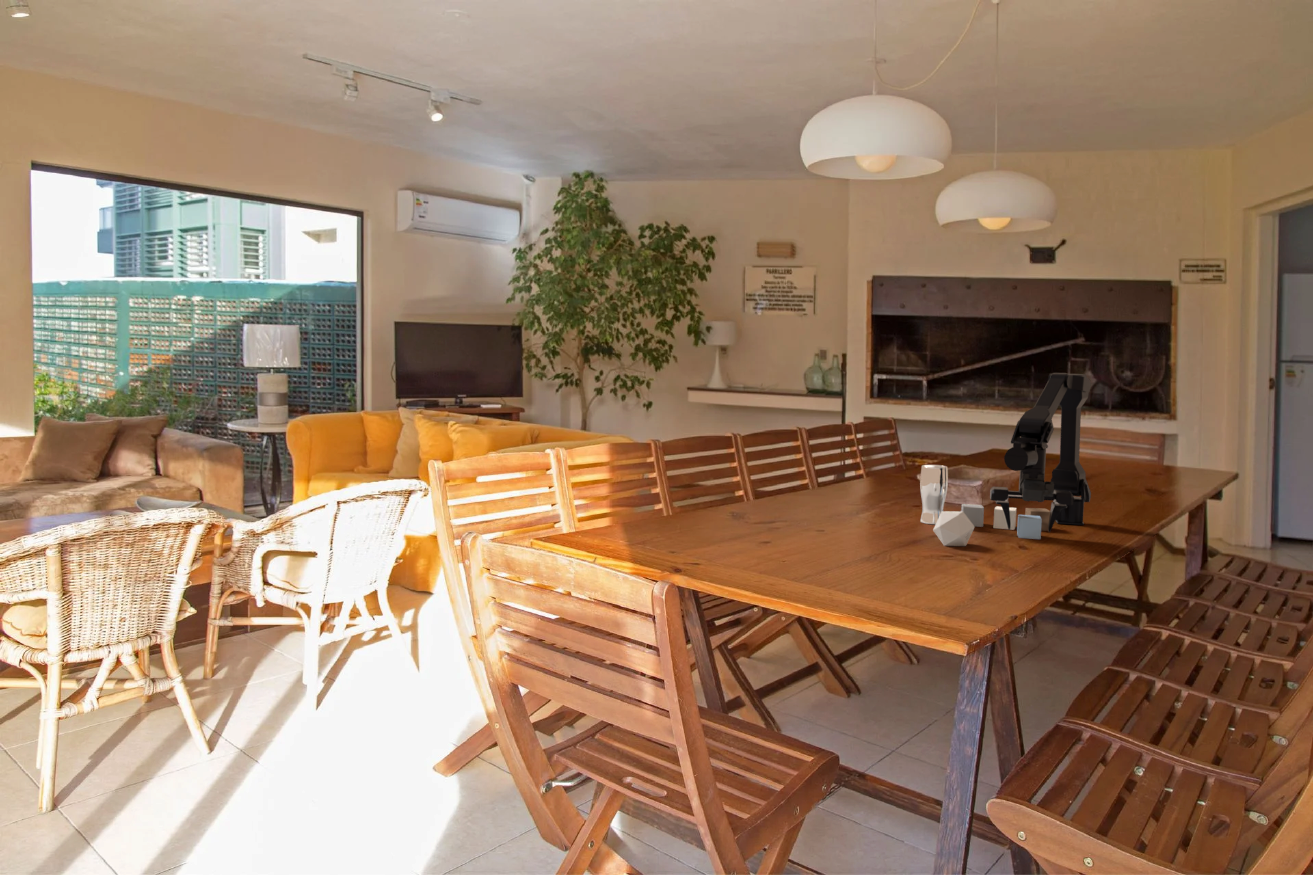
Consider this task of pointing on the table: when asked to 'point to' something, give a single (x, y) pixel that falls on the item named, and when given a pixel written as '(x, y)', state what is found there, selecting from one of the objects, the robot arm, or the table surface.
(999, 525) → the cream cube
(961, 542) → the die
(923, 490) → the beer glass
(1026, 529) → the bluish grey cube
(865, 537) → the table surface
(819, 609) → the table surface
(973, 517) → the grey cube
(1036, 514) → the walnut cube
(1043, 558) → the table surface
